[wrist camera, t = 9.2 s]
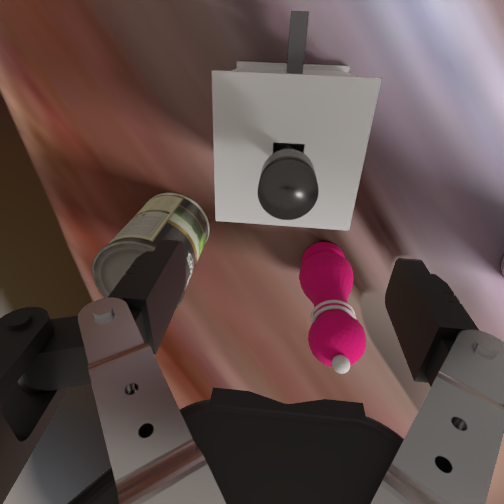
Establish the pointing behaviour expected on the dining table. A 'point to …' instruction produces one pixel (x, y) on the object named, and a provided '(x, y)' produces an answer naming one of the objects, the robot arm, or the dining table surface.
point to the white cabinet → (291, 131)
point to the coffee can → (153, 238)
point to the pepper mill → (331, 307)
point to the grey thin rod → (288, 182)
